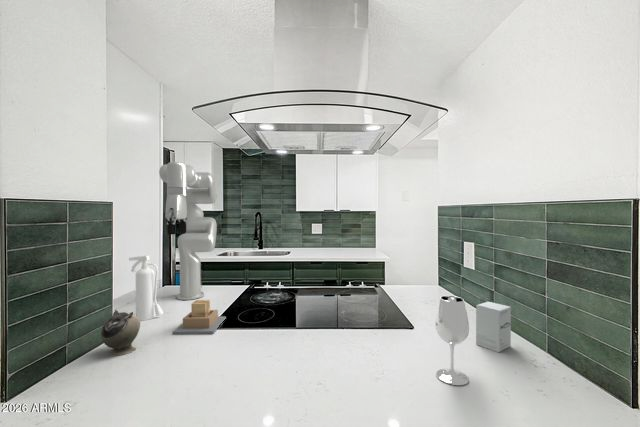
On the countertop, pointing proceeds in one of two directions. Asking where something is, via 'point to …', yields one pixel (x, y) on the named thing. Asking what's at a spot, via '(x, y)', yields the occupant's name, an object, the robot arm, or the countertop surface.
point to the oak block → (201, 308)
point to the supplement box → (493, 326)
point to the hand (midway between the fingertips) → (177, 233)
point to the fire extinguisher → (146, 289)
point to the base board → (200, 324)
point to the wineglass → (452, 334)
